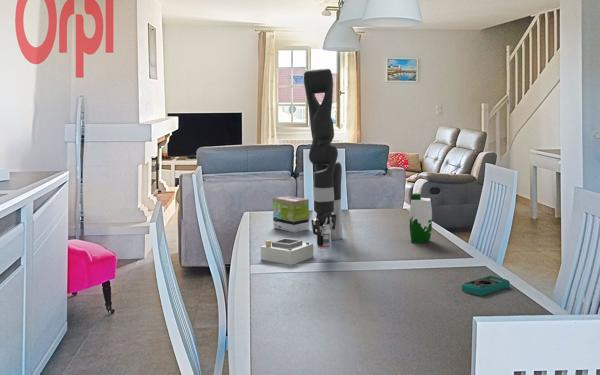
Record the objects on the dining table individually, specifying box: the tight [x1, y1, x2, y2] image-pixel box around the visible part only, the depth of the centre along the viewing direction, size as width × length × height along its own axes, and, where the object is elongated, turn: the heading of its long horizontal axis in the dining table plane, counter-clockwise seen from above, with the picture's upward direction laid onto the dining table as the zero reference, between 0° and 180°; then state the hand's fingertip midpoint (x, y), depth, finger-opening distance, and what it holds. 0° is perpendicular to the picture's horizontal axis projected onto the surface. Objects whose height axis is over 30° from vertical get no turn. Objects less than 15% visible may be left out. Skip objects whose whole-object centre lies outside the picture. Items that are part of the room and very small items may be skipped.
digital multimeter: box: [461, 275, 511, 297], centre depth 178 cm, size 7×15×3 cm, turn 126°
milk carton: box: [409, 193, 433, 245], centre depth 243 cm, size 9×9×20 cm
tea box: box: [272, 195, 310, 233], centre depth 274 cm, size 15×10×15 cm
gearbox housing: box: [260, 237, 314, 266], centre depth 218 cm, size 14×14×7 cm
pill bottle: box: [317, 224, 333, 250], centre depth 218 cm, size 5×5×9 cm
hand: (324, 243), depth 219 cm, fingers closed on pill bottle, 5 cm apart
